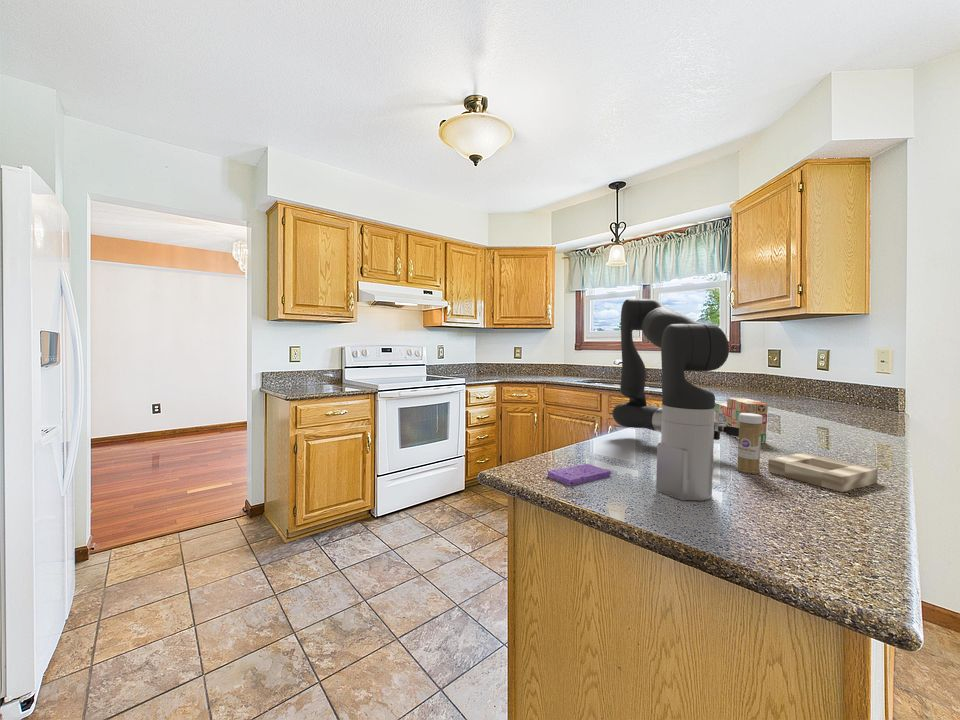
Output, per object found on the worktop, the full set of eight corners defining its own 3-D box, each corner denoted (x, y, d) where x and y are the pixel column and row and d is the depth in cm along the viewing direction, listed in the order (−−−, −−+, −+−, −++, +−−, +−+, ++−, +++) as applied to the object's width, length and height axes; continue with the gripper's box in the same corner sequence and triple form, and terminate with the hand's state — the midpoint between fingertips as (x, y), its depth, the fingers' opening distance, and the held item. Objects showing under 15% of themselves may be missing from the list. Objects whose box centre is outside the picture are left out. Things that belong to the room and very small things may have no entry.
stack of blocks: (713, 428, 144) (715, 394, 144) (732, 429, 143) (734, 394, 143) (744, 442, 123) (745, 402, 123) (766, 443, 122) (768, 403, 122)
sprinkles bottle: (735, 471, 94) (737, 414, 93) (738, 467, 97) (740, 411, 97) (759, 475, 91) (761, 416, 90) (761, 471, 94) (763, 413, 94)
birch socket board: (841, 491, 81) (842, 477, 81) (768, 471, 94) (768, 458, 94) (877, 482, 87) (877, 469, 87) (803, 465, 100) (803, 453, 100)
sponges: (547, 478, 89) (547, 470, 89) (587, 470, 96) (587, 462, 95) (570, 488, 83) (570, 479, 83) (611, 478, 90) (611, 470, 90)
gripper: (655, 410, 110) (711, 420, 95) (692, 407, 115) (750, 417, 101) (655, 437, 110) (710, 452, 95) (691, 433, 116) (749, 446, 101)
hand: (730, 434), depth 98 cm, fingers open, 8 cm apart
